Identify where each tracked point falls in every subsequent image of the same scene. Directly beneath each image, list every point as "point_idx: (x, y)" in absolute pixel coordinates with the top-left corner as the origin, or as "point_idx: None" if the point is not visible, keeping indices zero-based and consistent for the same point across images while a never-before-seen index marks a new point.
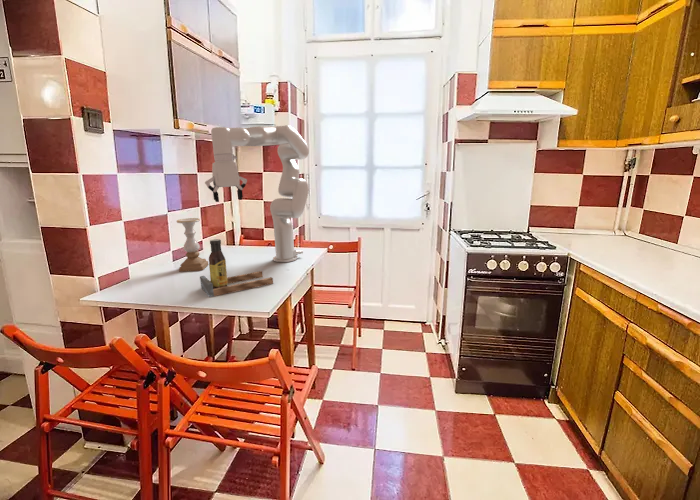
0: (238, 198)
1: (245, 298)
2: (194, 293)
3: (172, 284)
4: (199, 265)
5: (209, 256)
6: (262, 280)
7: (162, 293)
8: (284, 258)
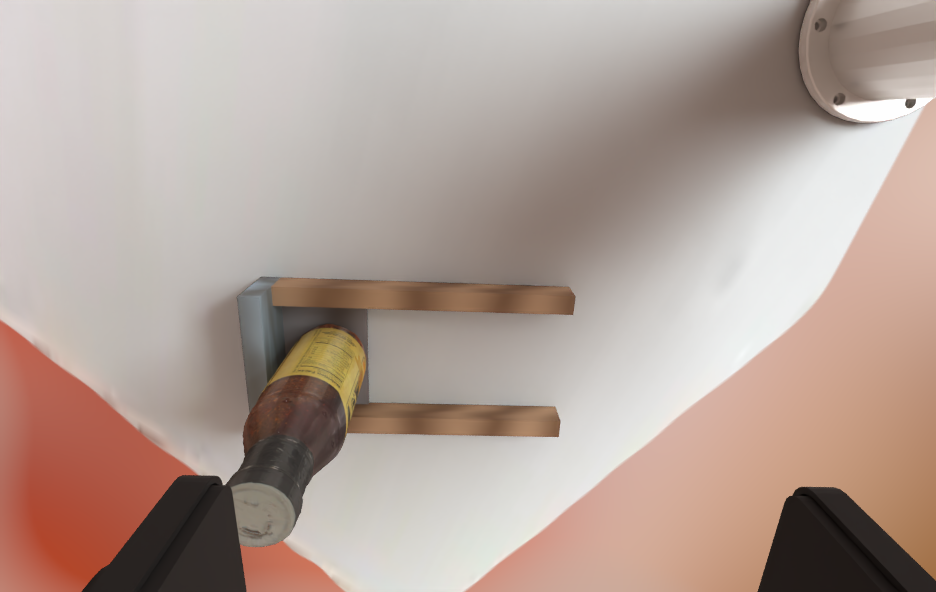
0: (789, 541)
1: (390, 505)
2: (222, 330)
3: (125, 101)
4: None
5: (243, 443)
6: (507, 434)
7: (79, 232)
8: (852, 89)
